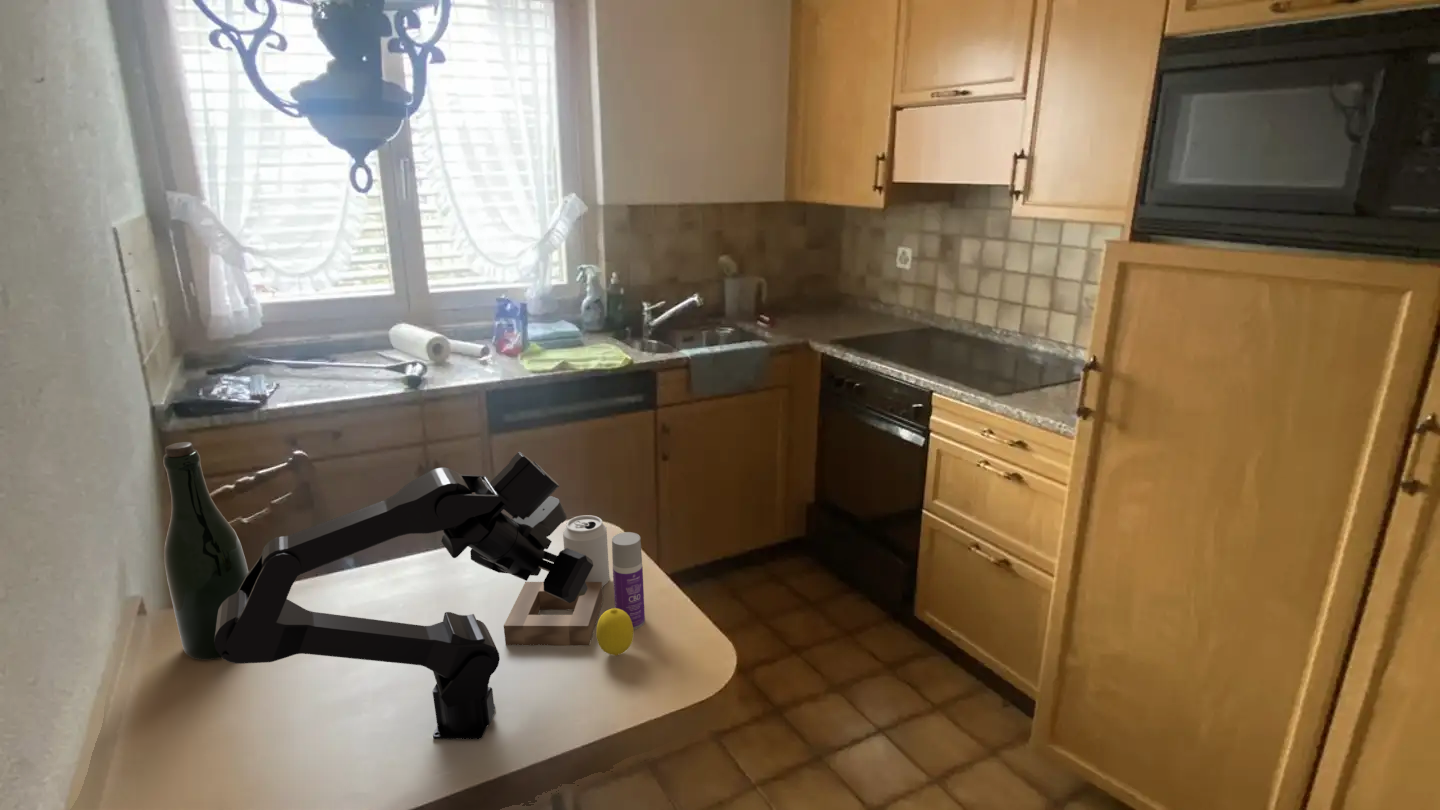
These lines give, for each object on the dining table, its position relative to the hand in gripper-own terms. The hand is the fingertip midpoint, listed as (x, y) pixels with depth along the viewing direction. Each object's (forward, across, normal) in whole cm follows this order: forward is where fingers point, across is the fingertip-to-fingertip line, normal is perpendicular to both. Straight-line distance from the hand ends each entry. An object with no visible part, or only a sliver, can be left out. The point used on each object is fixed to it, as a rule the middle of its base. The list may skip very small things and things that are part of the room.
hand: (561, 581), depth 114 cm
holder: (+15, +9, +4) cm, 18 cm away
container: (+19, -1, 0) cm, 19 cm away
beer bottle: (-6, +49, +29) cm, 57 cm away
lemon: (+14, -5, +5) cm, 16 cm away
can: (+23, +13, -4) cm, 27 cm away
